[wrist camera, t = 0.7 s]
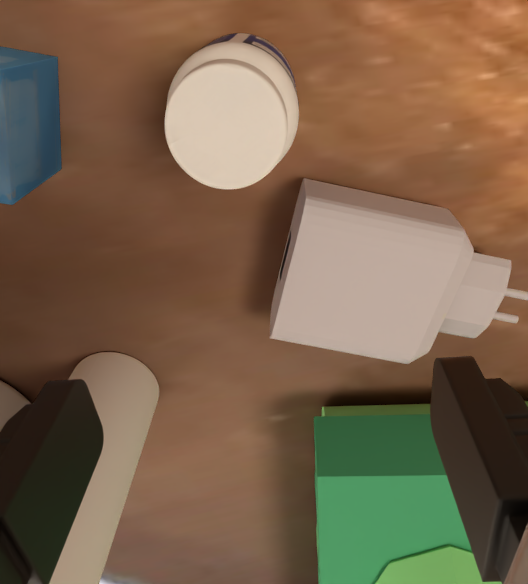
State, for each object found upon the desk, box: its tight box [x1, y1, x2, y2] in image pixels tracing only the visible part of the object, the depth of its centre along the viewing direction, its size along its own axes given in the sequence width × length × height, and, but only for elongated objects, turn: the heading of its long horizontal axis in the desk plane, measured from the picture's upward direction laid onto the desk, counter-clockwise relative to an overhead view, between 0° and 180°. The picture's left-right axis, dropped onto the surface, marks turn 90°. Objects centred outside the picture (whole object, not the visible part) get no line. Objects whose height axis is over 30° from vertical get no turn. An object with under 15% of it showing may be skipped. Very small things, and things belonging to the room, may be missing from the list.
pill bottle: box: [164, 33, 299, 189], centre depth 23 cm, size 6×6×10 cm
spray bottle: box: [49, 352, 159, 584], centre depth 27 cm, size 7×7×25 cm
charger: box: [270, 178, 528, 364], centre depth 30 cm, size 5×9×15 cm
